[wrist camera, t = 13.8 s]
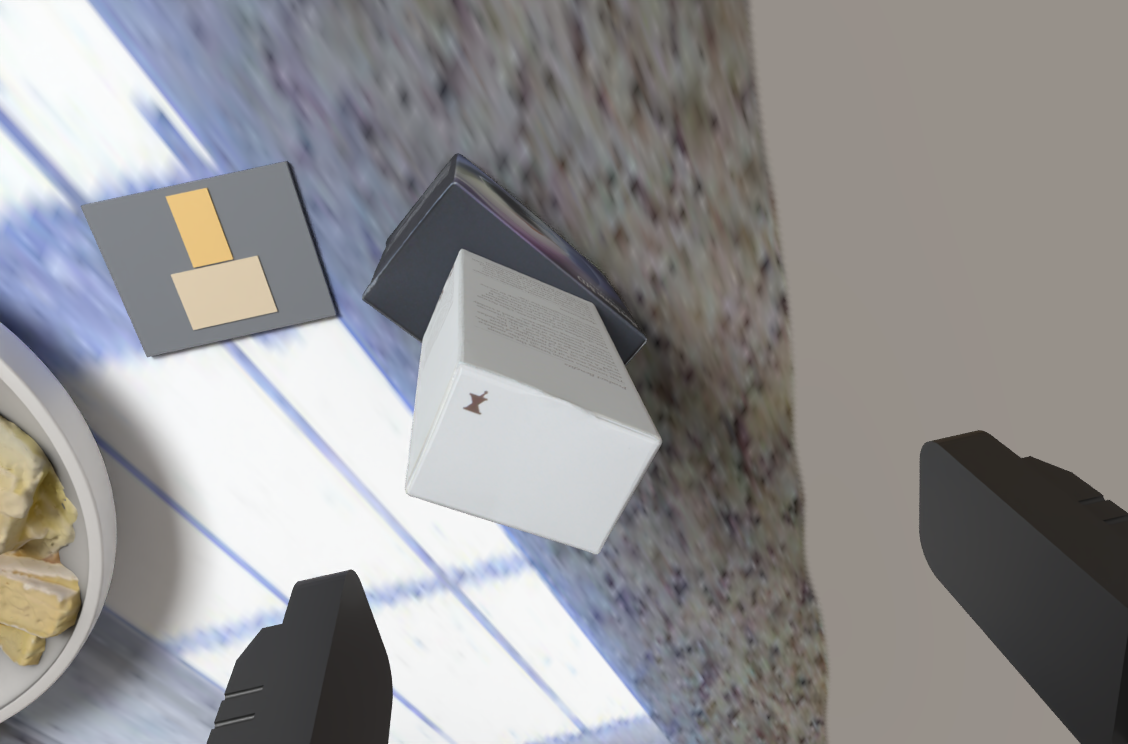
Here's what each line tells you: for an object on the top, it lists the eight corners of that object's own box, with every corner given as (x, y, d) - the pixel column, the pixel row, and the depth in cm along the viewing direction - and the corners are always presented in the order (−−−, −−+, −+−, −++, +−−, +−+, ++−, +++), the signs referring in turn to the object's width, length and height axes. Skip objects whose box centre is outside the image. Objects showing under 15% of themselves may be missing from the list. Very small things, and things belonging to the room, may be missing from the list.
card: (83, 204, 38) (79, 206, 38) (287, 160, 38) (285, 161, 38) (149, 355, 41) (146, 357, 41) (337, 313, 41) (336, 315, 41)
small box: (615, 274, 42) (658, 339, 33) (538, 362, 44) (558, 450, 34) (459, 143, 39) (456, 174, 29) (381, 244, 40) (354, 304, 31)
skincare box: (419, 340, 32) (394, 495, 21) (460, 244, 30) (456, 355, 19) (556, 392, 33) (600, 562, 22) (599, 303, 32) (669, 436, 21)
